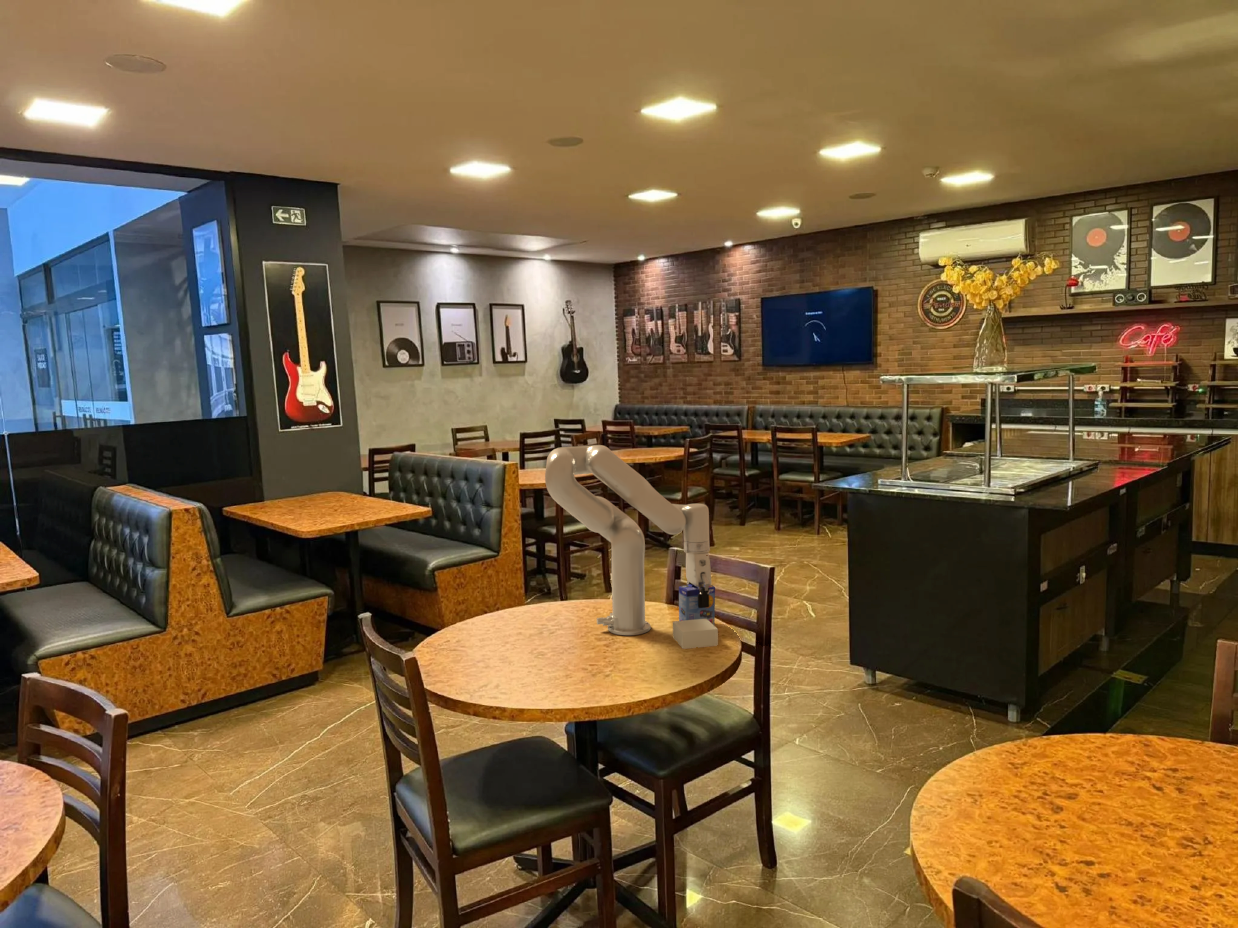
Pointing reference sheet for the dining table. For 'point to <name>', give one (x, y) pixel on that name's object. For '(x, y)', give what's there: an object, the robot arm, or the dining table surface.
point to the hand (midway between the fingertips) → (698, 602)
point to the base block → (695, 633)
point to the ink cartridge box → (695, 604)
